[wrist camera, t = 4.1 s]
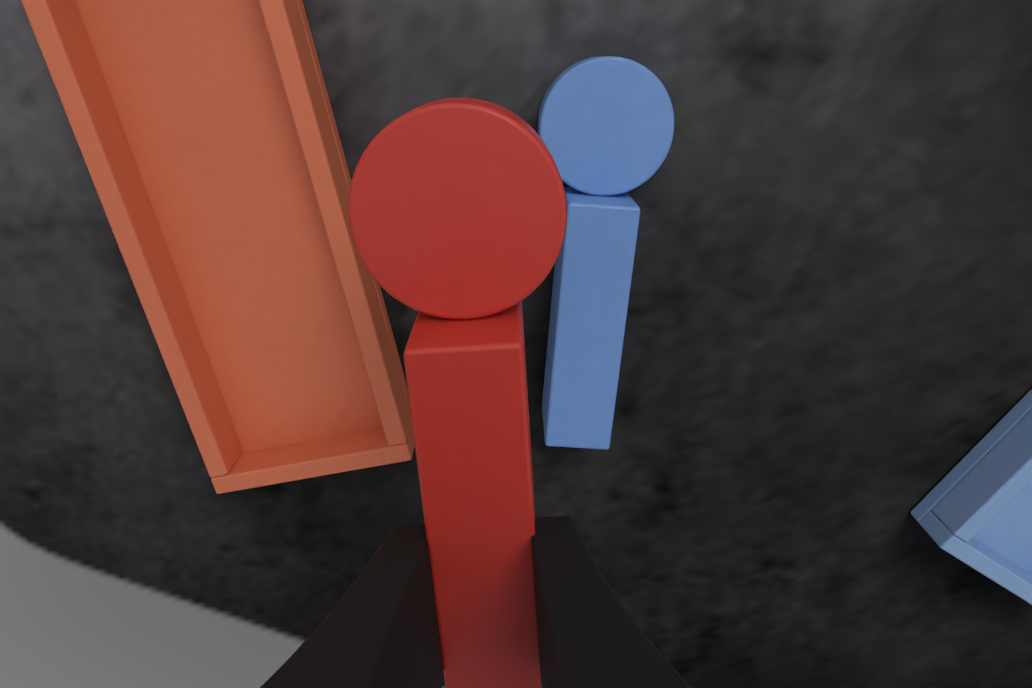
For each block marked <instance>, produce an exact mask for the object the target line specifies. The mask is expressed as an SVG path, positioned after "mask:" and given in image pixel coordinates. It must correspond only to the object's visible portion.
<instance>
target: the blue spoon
mask: <svg viewBox="0 0 1032 688" xmlns="http://www.w3.org/2000/svg"><path fill="white" fill-rule="evenodd" d="M538 134H539V136H540V137H541V139H542V140H543V141H544V143H545V144H546V146H547V147H548V149H549V151H550V153H551V155H552V157H553V159H554V161H555V164H556V166H557V169H558V171H559V174H560V177H561V179H562V181H563V182H564V183H566V184H567V185H568V186H570V187H566V186H565V187H564V191H565V195H566V204H567V225H566V231H565V237H564V241H563V244H562V248H561V251H560V253H559V255H558V258H557V260H556V262H555V266H554V277H553V288H552V299H551V310H550V321H549V332H548V343H547V354H546V365H545V376H544V387H543V398H542V415H543V426H544V438H545V444H546V445H547V446H556V447H573V448H590V449H609V447H610V440H611V433H612V425H613V417H614V410H615V402H616V394H617V387H618V379H619V371H620V364H621V356H622V348H623V341H624V333H625V325H626V318H627V310H628V302H629V295H630V287H631V279H632V272H633V264H634V256H635V249H636V241H637V233H638V226H639V218H640V208H639V206H638V205H637V204H636V203H635V202H634V200H633V199H632V198H631V197H630V196H629V194H628V193H627V192H628V191H631V190H633V189H635V188H637V187H638V186H640V185H642V184H643V183H644V182H646V181H647V180H648V179H649V178H650V177H651V176H653V175H654V174H655V172H656V171H657V170H658V169H659V168H660V166H661V165H662V163H663V161H664V160H665V158H666V156H667V154H668V152H669V149H670V146H671V143H672V139H673V134H674V113H673V107H672V103H671V100H670V97H669V95H668V93H667V91H666V89H665V87H664V86H663V84H662V83H661V81H660V80H659V79H658V78H657V77H656V76H655V74H653V73H652V72H651V71H650V70H649V69H647V68H646V67H644V66H643V65H641V64H639V63H637V62H635V61H633V60H630V59H626V58H622V57H616V56H598V57H591V58H588V59H584V60H581V61H579V62H577V63H575V64H573V65H571V66H570V67H568V68H567V69H565V70H564V71H563V72H562V73H560V75H559V76H558V77H557V78H556V79H555V80H554V81H553V82H552V84H551V85H550V86H549V88H548V90H547V92H546V93H545V95H544V98H543V100H542V103H541V106H540V110H539V116H538Z"/></svg>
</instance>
